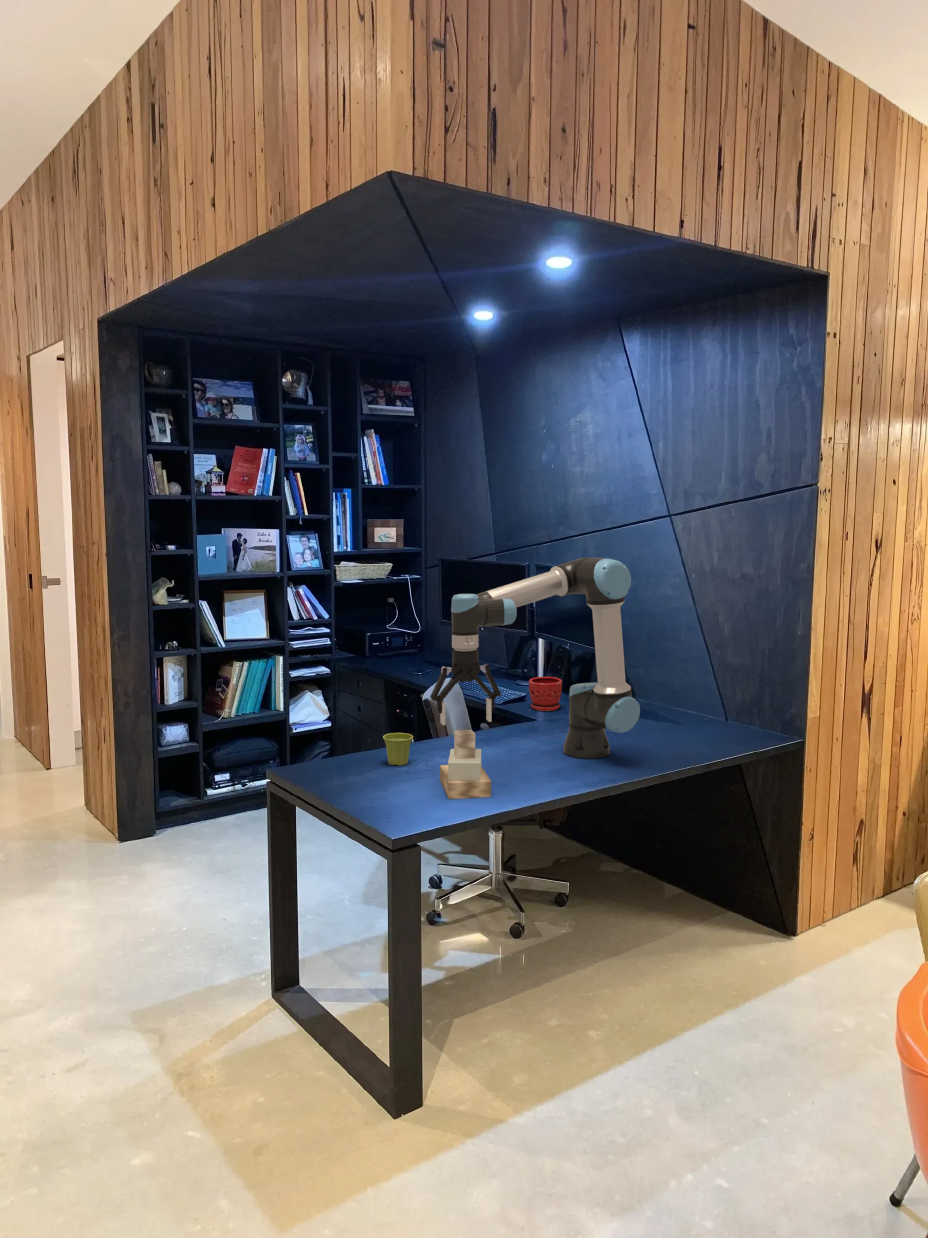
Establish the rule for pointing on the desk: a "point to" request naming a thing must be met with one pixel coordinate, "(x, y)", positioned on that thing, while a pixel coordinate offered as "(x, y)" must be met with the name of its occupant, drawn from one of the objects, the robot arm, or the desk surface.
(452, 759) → the middle block
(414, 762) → the desk surface
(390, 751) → the plant pot
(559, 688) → the plant pot
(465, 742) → the ash block
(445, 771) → the bottom block
